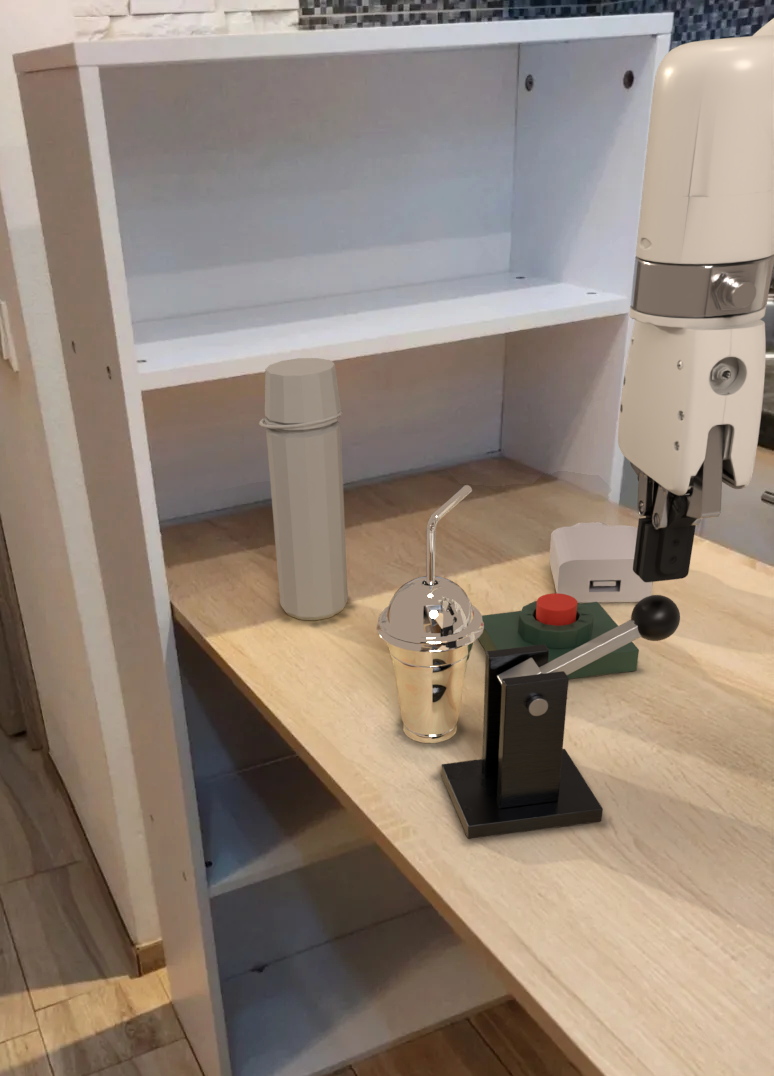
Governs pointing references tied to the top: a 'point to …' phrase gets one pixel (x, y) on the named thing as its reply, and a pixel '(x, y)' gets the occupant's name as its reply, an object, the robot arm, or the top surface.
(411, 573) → the top surface
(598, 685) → the top surface
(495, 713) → the black lever stand
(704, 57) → the robot arm
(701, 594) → the top surface
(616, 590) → the charger
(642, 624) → the tap lever
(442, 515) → the cup with straw
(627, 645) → the green button base
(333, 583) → the water bottle
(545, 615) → the button
